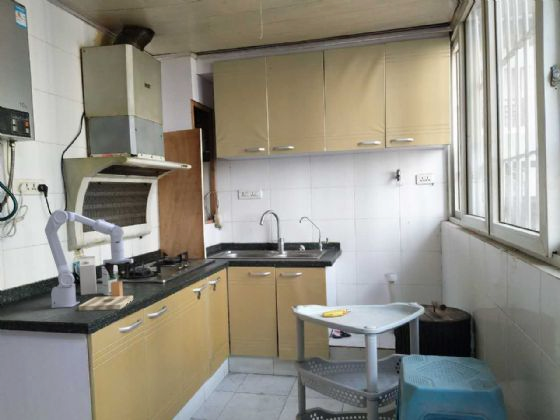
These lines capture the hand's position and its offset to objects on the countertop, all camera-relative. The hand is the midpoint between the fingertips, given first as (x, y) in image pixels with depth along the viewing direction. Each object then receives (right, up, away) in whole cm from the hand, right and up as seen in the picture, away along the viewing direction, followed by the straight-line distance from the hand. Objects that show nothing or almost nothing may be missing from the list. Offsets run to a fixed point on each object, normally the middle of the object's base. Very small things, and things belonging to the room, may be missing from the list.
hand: (119, 278), depth 200 cm
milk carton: (-21, -10, +13) cm, 26 cm away
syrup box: (-8, -10, +9) cm, 15 cm away
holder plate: (0, -10, -13) cm, 16 cm away
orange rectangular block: (-1, -10, -1) cm, 10 cm away
